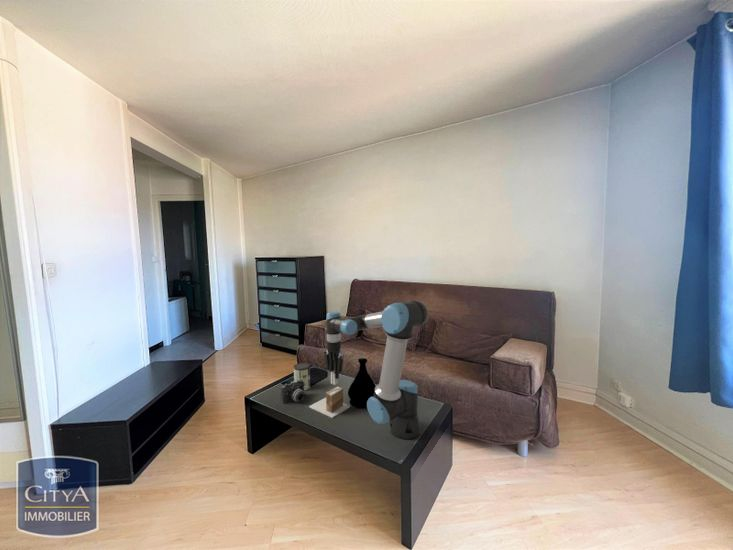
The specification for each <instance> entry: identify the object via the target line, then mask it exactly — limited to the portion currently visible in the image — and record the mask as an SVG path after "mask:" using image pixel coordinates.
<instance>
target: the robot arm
mask: <svg viewBox="0 0 733 550" xmlns="http://www.w3.org/2000/svg"><path fill="white" fill-rule="evenodd" d="M428 319H429V309H428V307H427V306H426V305H425V303H423V302H422V301H420V300H415V299H413V300H407V301H402V302H394V303H392V304H389V305H387V306H385V307H384V309H383V310H382V311H377V312H372V313H368V314H367V313H366V314H363V315H357V316H351V317H342V316H341V313H340V311H329V312H327V313H326V323H325V324H326V349H327V350H325V351H324V353H323V354H324V356H325V363H326V370H328V371H329V377H330V384H331V385H333V386H336V385H338V384H339V378H340V377H339V376H340V374H339V373H341V372H342V371H343V363H344V357H345V354H342V352H341V348H342V341H341V339H342V338H341V336H342V334H344V335H348V336H352V335H354V334H355V333H357V332H358V331H363V330H369V329H375V328H376V329H377V328H381V327H382V328H383V330H384V334H385V336H386V343H385V348H384V354H383V360H382V366H381V371H380V378H379V383H377V385H376V387H375V391H374V396H373V397H370V398H369V399H368V401H367V408H366V409H367V412H368V413H369V416H370V417H371V419H372V420H373V421H374V422H375V423H377V424H379V425H384V424H387V423H389V425H388V426H389V432H390V433H391V434H392V436H394V437H396V438H398V439H402V440H412V439H415V437H416V438H418V437H419V436H420V435H421V434H420V433H422V424H421V421H420V416H419V415H418V414H419V413H418V406H419V405H418V400H419V398H418V397H419V395H418V394H419V392H418V385H417V384H416V383H415V382H414V381H411V380H407V379H401V378H402V373H403V372H402V371H403V366H404V361H405V356H406V351H407V346H408V345H407V344H408V341H409V340H412V338H413V333H414V329H417V328H419V327H421V326H423V325H424V324H425V323H427V321H428ZM419 434H420V435H419ZM418 435H419V436H418ZM417 436H418V437H417Z"/></svg>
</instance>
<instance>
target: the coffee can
mask: <svg viewBox="0 0 733 550" xmlns="http://www.w3.org/2000/svg"><path fill="white" fill-rule="evenodd" d="M298 380H303V382H304V391H307V390H308V389H311V365H310V363H307V362H300V363H296V364H295V365H293V381H295V382H298Z"/></svg>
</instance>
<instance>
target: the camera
mask: <svg viewBox="0 0 733 550" xmlns="http://www.w3.org/2000/svg"><path fill="white" fill-rule="evenodd" d="M305 399H306V393H305V390H304V382H303V380H298V382H295V381H294V380H293V381H291V382H290V383H285V384H283V385H282V386H281V387H280V403H281V404H286V403H289V402H291V401H294V402H297V403H302V402H303V401H304V400H305Z"/></svg>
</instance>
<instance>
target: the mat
mask: <svg viewBox="0 0 733 550" xmlns="http://www.w3.org/2000/svg"><path fill="white" fill-rule="evenodd" d="M308 408H310V409H312V410H314V411H317V412H318V413H321V414H323V415H325V416H327V417H328V418H331V419H333V418H335V417H336V416H339V415H340V414H341V413H343V412H345V411H346V410H348V409H350V408H351V405H350V404H347V403H344V402H343V407H341V408H339V409H338V410H336V411H334V412H333V413H330V412H328V411H326V397H324V398H322V399H320V400H319V401H317V402H314V403H313V404H311V405H309V406H308Z"/></svg>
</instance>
